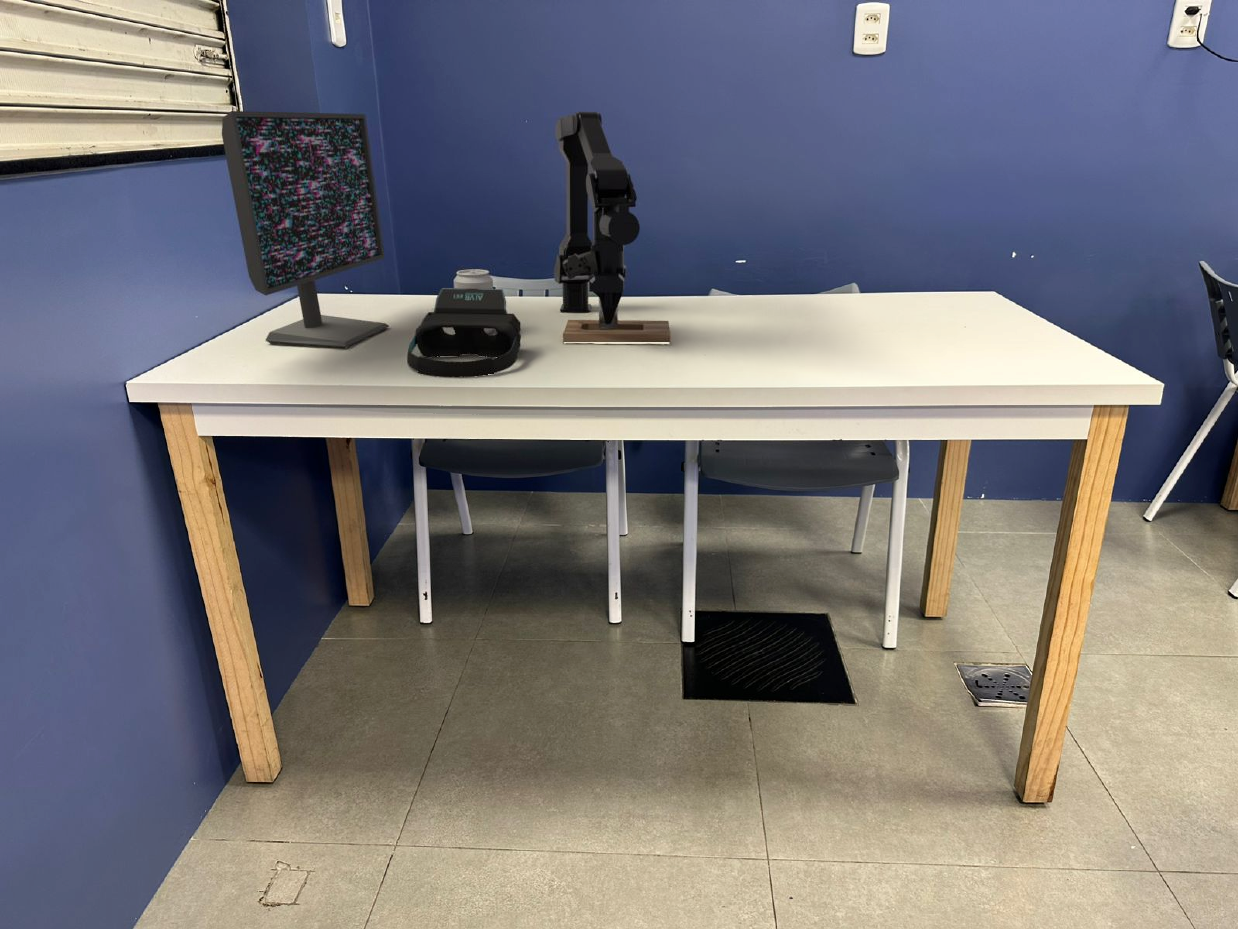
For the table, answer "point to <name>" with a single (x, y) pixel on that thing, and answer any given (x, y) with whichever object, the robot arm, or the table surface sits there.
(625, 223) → the robot arm
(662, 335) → the keyhole board
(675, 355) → the table surface
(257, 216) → the computer monitor
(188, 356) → the table surface
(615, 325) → the peg
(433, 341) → the virtual reality headset
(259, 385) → the table surface
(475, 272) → the can
